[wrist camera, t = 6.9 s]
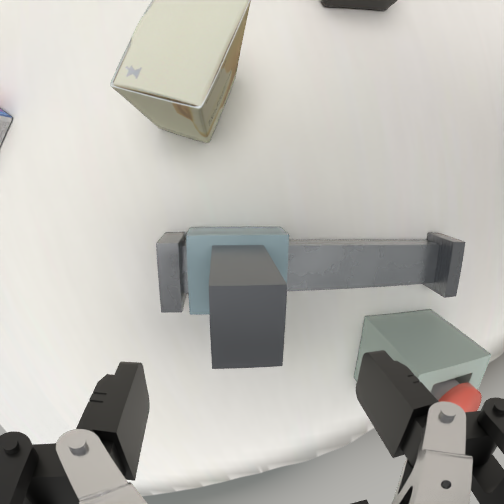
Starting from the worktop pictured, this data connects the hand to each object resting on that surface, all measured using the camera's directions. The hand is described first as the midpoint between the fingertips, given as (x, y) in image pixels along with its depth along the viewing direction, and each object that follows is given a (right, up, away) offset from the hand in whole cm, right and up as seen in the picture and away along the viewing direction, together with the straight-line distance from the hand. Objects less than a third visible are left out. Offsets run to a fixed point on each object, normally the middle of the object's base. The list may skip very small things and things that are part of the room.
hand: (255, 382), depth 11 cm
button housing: (+14, -5, +19) cm, 24 cm away
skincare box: (-4, +16, +12) cm, 21 cm away
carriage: (-1, +4, +15) cm, 16 cm away
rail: (+6, +4, +16) cm, 17 cm away
